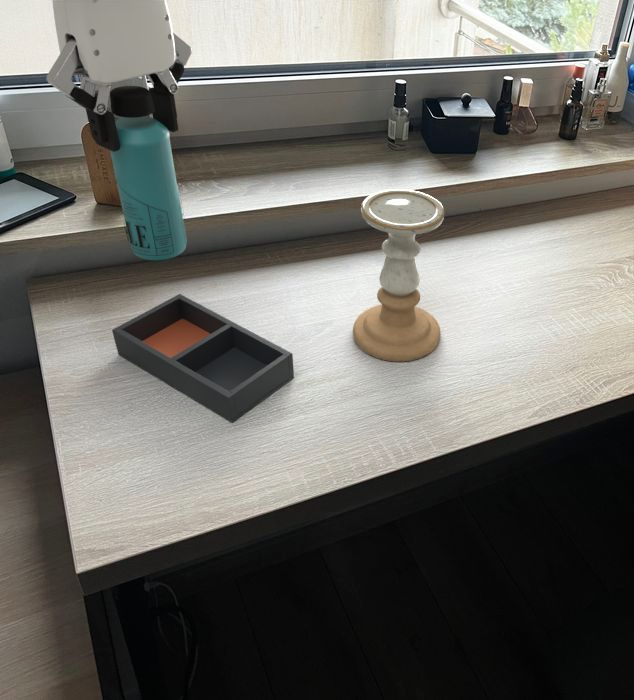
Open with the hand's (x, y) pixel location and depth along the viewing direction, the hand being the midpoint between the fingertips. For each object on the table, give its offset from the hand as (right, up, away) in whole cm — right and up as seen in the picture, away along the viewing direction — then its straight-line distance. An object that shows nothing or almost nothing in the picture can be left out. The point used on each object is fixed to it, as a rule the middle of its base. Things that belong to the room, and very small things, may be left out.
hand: (138, 136), depth 77 cm
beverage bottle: (-1, -12, +9) cm, 15 cm away
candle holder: (+25, -21, +26) cm, 42 cm away
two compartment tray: (+1, -25, +17) cm, 30 cm away
